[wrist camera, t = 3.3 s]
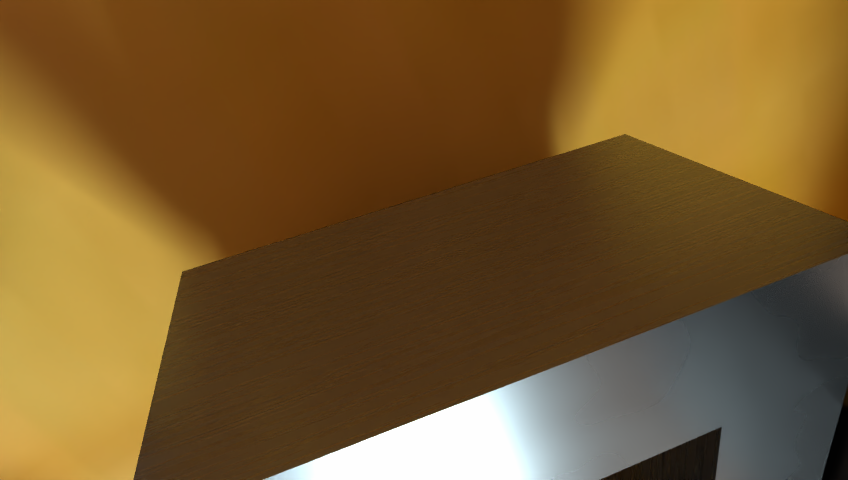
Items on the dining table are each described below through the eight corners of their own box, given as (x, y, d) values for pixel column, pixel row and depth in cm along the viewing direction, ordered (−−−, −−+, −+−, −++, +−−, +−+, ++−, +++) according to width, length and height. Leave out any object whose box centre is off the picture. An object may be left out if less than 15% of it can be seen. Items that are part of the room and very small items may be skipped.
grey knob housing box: (624, 134, 8) (911, 246, 5) (626, 430, 12) (795, 627, 8) (182, 271, 7) (114, 562, 4) (326, 556, 11) (366, 852, 7)
